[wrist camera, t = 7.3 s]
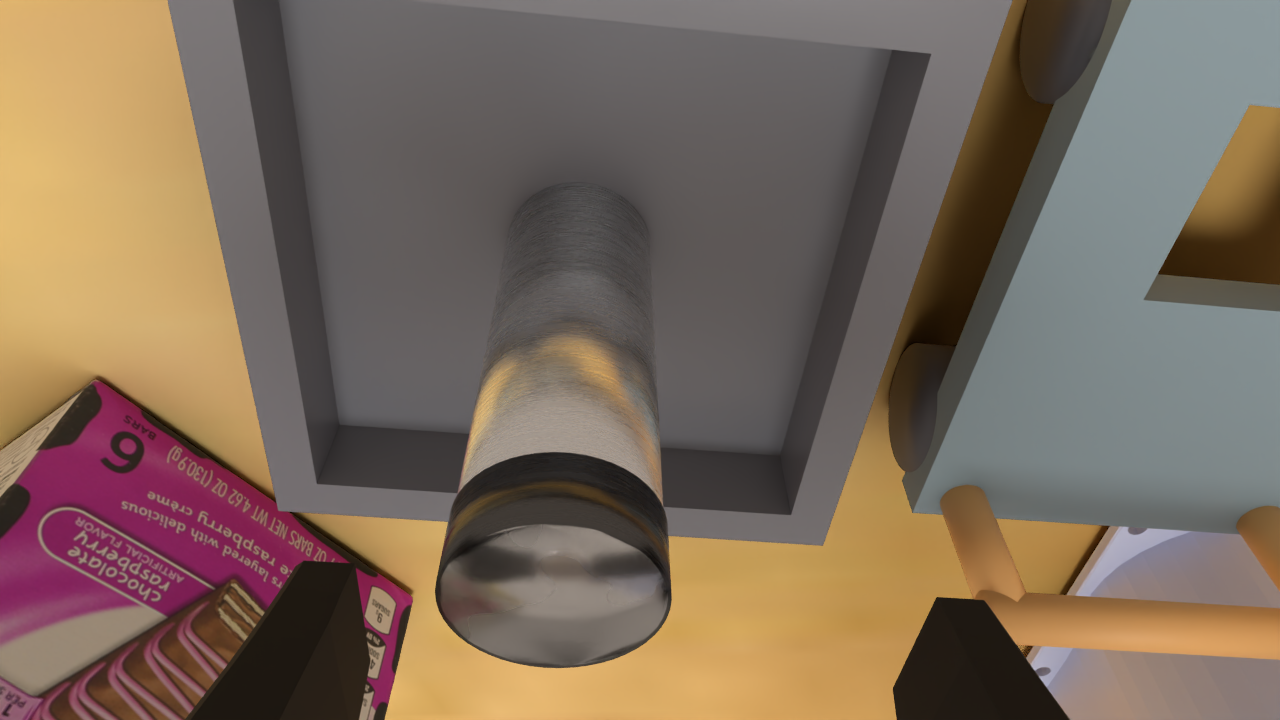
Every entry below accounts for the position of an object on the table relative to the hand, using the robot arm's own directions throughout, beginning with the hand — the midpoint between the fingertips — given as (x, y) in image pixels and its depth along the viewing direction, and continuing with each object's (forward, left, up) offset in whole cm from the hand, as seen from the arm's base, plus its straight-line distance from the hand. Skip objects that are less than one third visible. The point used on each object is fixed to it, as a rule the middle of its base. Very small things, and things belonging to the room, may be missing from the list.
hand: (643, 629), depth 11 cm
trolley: (+1, -11, -10) cm, 15 cm away
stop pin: (0, +1, -10) cm, 10 cm away
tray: (0, +1, -10) cm, 10 cm away
